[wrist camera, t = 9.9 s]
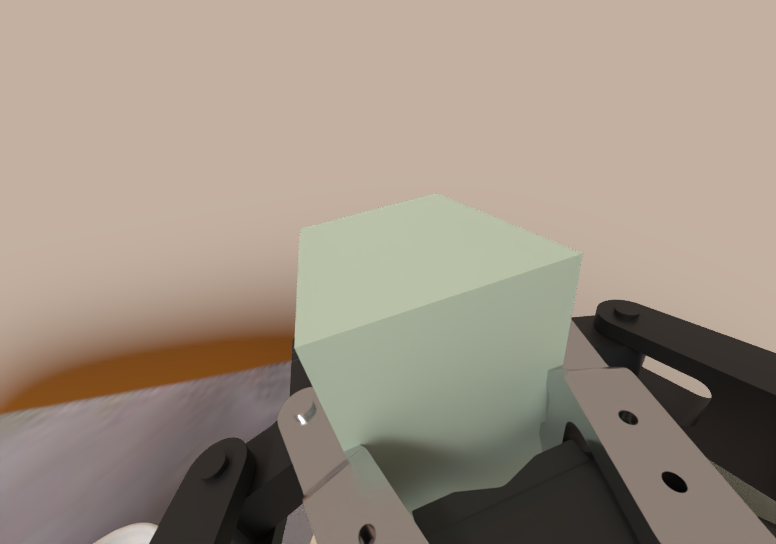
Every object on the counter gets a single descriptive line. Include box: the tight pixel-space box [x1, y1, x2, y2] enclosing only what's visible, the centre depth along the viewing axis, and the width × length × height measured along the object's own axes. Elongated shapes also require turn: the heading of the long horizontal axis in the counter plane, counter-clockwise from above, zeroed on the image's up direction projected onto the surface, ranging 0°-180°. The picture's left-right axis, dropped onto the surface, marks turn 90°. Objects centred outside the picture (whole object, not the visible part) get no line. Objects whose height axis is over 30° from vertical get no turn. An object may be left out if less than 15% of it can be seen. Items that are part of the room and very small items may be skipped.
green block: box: [294, 193, 583, 522], centre depth 9 cm, size 6×5×10 cm
